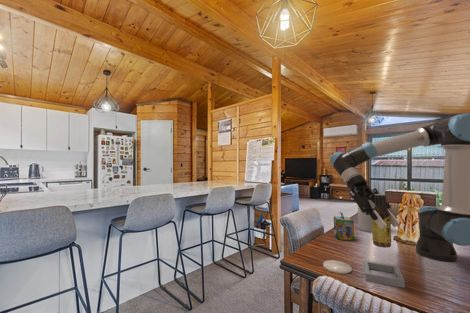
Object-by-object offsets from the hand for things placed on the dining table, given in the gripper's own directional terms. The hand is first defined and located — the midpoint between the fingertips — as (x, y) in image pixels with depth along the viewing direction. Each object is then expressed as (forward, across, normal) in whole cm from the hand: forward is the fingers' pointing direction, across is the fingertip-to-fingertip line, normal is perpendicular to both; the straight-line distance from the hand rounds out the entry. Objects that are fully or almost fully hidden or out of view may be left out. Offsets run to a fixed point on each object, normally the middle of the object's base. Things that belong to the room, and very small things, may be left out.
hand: (390, 226), depth 87 cm
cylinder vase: (-22, -49, -51) cm, 74 cm away
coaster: (+4, +12, -25) cm, 28 cm away
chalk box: (-17, -21, -46) cm, 53 cm away
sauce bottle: (+4, 0, -9) cm, 9 cm away
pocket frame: (+12, 0, -17) cm, 21 cm away
